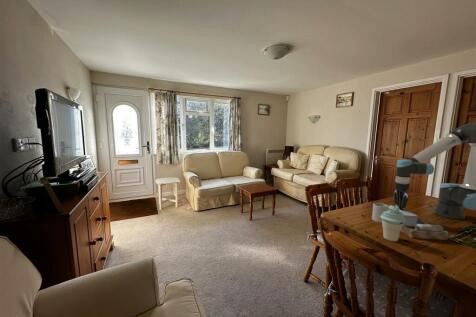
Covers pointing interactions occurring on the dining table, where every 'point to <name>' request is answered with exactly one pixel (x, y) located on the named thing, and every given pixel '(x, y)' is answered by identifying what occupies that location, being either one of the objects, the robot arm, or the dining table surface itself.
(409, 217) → the crate
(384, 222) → the frozen yogurt cup
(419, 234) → the bay
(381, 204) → the mug
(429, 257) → the dining table surface
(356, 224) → the dining table surface
